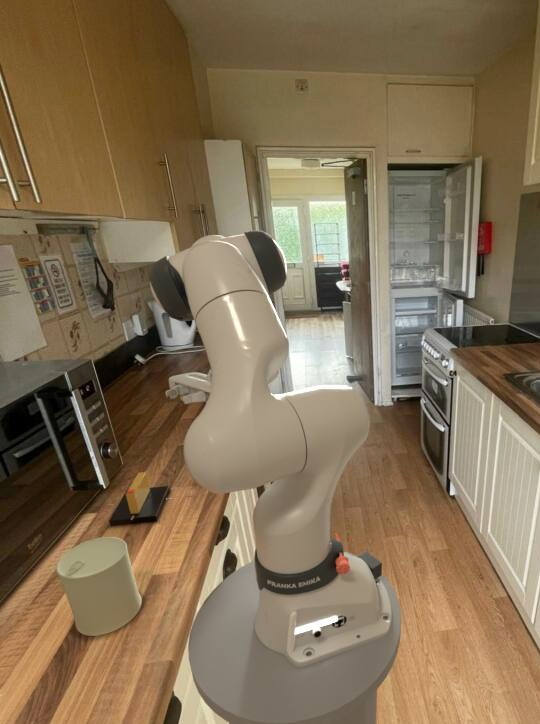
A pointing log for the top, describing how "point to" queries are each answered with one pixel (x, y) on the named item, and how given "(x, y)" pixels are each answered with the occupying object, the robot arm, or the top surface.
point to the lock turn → (138, 493)
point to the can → (99, 585)
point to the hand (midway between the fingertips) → (174, 397)
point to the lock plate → (147, 512)
